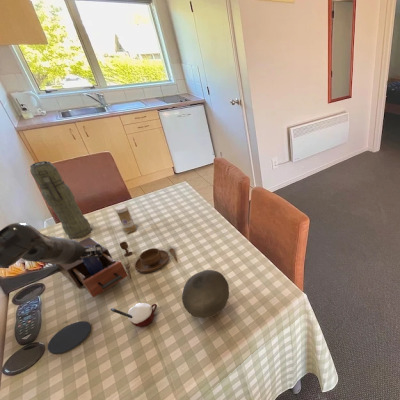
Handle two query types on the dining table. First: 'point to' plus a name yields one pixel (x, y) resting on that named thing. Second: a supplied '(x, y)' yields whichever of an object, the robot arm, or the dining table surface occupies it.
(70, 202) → the olive carved slab
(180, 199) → the dining table surface
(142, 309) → the cocoa
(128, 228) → the sprinkles bottle
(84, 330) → the mat
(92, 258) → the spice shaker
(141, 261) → the place setting
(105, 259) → the drawer
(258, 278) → the dining table surface
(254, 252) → the dining table surface
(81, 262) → the cabinet
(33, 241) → the robot arm
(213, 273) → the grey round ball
